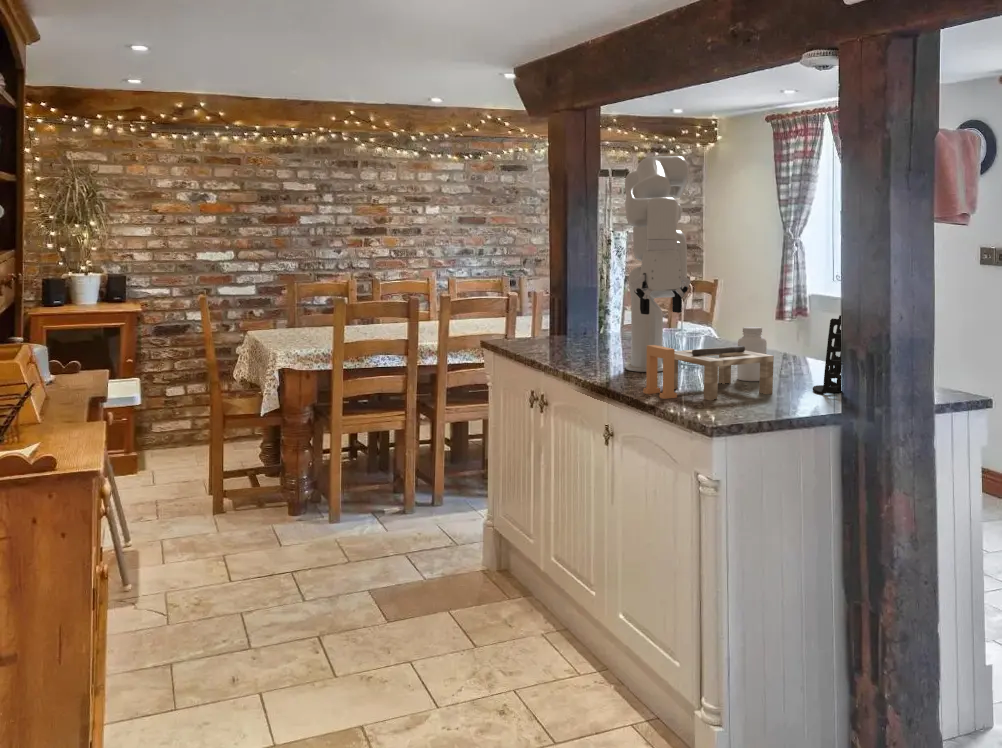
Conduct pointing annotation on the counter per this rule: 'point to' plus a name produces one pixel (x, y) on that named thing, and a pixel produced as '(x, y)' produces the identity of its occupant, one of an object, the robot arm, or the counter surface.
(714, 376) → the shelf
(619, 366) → the counter surface
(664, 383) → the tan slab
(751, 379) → the pill bottle
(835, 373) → the holder
